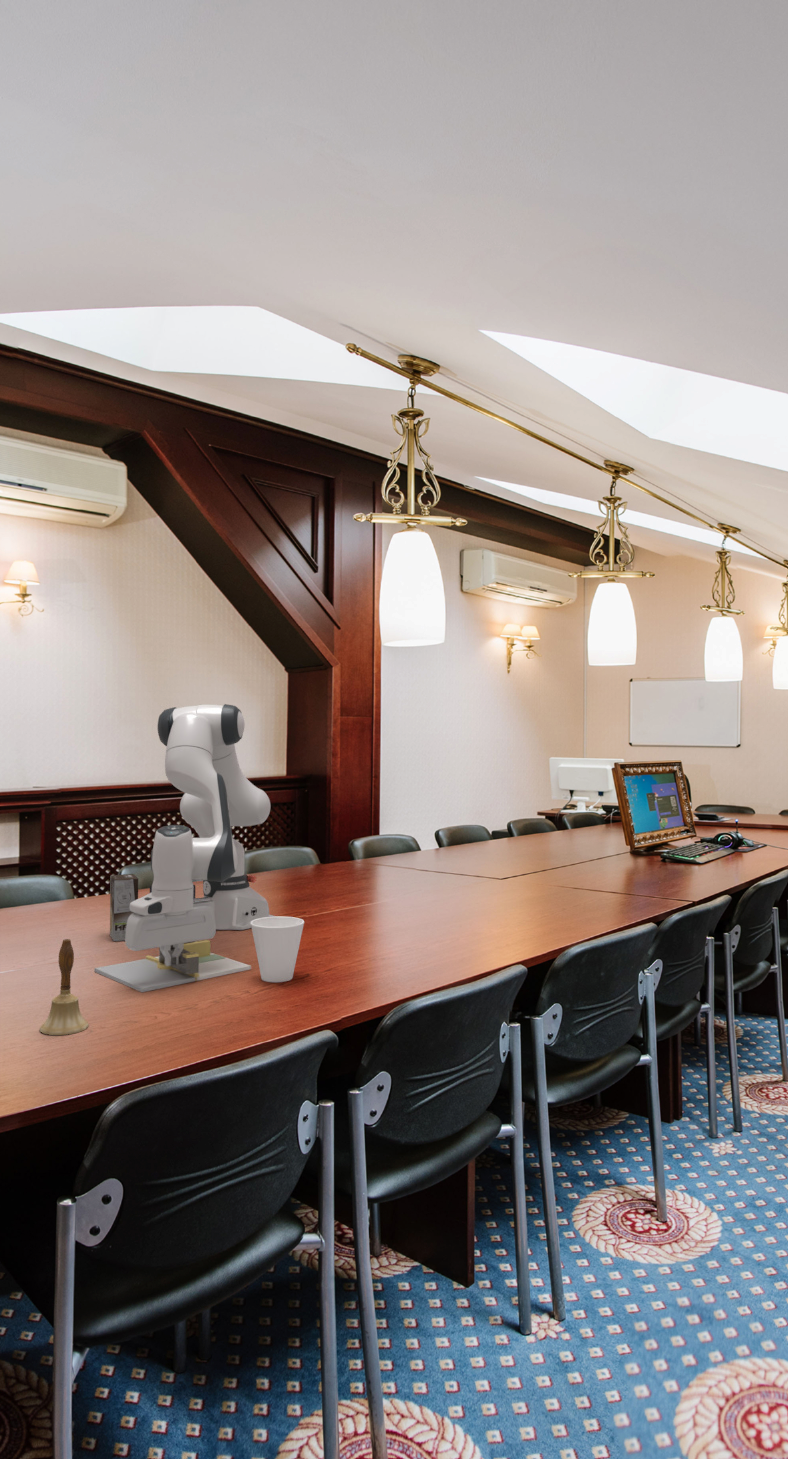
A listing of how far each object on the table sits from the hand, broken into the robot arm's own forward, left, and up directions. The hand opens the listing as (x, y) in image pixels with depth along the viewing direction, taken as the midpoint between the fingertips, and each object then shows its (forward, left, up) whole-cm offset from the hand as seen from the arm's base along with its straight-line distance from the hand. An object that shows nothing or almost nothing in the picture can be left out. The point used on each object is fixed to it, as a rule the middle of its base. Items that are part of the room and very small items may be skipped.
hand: (171, 965), depth 188 cm
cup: (-18, +14, -4) cm, 23 cm away
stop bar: (-3, -3, -1) cm, 5 cm away
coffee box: (-12, -46, -4) cm, 48 cm away
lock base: (-5, -7, -3) cm, 9 cm away
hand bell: (+30, +15, -4) cm, 34 cm away
